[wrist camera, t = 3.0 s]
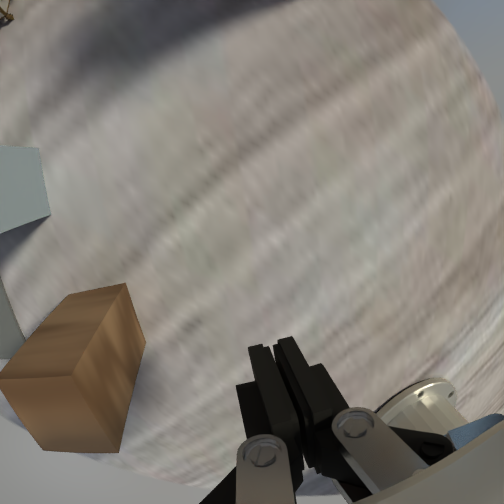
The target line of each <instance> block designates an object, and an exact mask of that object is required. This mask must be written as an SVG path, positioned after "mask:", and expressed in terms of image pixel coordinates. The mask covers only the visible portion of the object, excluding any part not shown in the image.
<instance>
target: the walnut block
mask: <svg viewBox="0 0 504 504" xmlns="http://www.w3.org/2000/svg"><path fill="white" fill-rule="evenodd" d="M145 344H146V341H145V338H144V336H143V333H142V330H141V327H140V324H139V322H138V319H137V316H136V313H135V310H134V307H133V304H132V301H131V298H130V295H129V292H128V288H127V285H126V283H123V284H118V285H113V286H108V287H103V288H98V289H94V290H89V291H84V292H79V293H74V294H69V295H68V296H67V297H66V298H65V299H64V300H63V301H62V302H61V303H60V304H59V305H58V306H57V307H56V308H55V309H54V310H53V311H52V313H51V314H50V315H49V316H48V317H47V318H46V319H45V320H44V321H43V322H42V324H41V325H40V326H39V327H38V328H37V329H36V330H35V331H34V332H33V334H32V335H31V336H30V337H29V338H28V339H27V341H26V342H25V343H24V344H23V345H22V346H21V348H20V349H19V350H18V351H17V352H16V353H15V355H14V356H13V357H12V358H11V359H10V361H9V362H8V363H7V364H6V366H5V367H4V368H3V369H2V371H1V372H0V389H1V391H2V393H3V394H4V396H5V397H6V399H7V401H8V402H9V404H10V405H11V407H12V408H13V410H14V411H15V413H16V414H17V416H18V417H19V419H20V420H21V422H22V423H23V424H24V426H25V427H26V429H27V430H28V431H29V433H30V434H31V435H32V437H33V438H34V439H35V441H36V442H37V443H38V445H39V446H40V447H41V448H42V449H43V450H45V451H57V452H74V453H119V449H120V444H121V440H122V435H123V431H124V426H125V422H126V418H127V413H128V409H129V405H130V401H131V397H132V393H133V389H134V385H135V381H136V377H137V374H138V370H139V366H140V362H141V359H142V355H143V352H144V348H145Z"/></svg>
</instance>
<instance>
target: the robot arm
mask: <svg viewBox="0 0 504 504" xmlns="http://www.w3.org/2000/svg"><path fill="white" fill-rule="evenodd" d="M273 350H274V356H275V360H274V358H273V355H272V353H271V350H270V348H269V346H267V347H263V345H262V344H259V345H255V346H250V347H248V351H249V356H250V360H251V365H252V369H253V374H254V378H255V381H253V382H248V383H244V384H239V385H236V390H237V395H238V400H239V404H240V409H241V414H242V418H243V423H244V428H245V432H246V437H247V440H246V441H244V442H243V443H242V444H241V445H240V447H239V448H238V451H237V463H236V467H235V468H234V469H233V470H232V471H231V472H230V473H229V474H228V475H227V476H226V477H225V478H224V479H223V480H222V481H221V482H220V483H219V484H218V485H217V486H216V487H215V488H214V489H213V490H212V491H211V492H210V494H208V495H207V496H206V497H205V498H204V499H203V500H202V501H201V502H200V503H199V504H297V502H296V495H295V492H296V491H297V489H298V488H299V486H300V485H301V484H302V482H303V474H302V470H304V461H303V455H304V458H305V460H306V463H307V465H308V467H309V468H312V467H314V468H315V470H316V473H317V474H319V473H321V474H322V475H323V476H326V477H330V478H331V479H332V481H333V483H334V485H335V486H336V488H337V489H338V490H339V492H340V493H341V495H342V496H343V497H344V499H345V500H346V502H347V503H348V504H504V415H502V414H497V413H494V414H490V415H488V416H485V417H483V418H481V419H478V420H476V421H473V422H471V423H469V422H468V421H467V420H466V419H465V418H464V417H463V416H462V415H461V414H460V413H459V412H458V411H457V410H456V409H455V404H456V400H457V392H456V389H455V387H454V386H453V385H452V384H451V383H450V382H449V381H447V380H446V379H443V378H432V379H428V380H424V381H422V382H420V383H417V384H415V385H413V386H411V387H409V388H408V389H406V390H404V391H403V392H401V393H400V394H398V395H397V396H395V397H394V398H393V399H392V400H390V401H389V402H388V403H387V404H386V405H384V406H383V407H382V408H381V409H380V410H379V411H378V412H377V413H376V414H375V413H374V412H373V411H371V410H369V409H366V408H361V407H354V408H350V407H349V406H348V404H347V403H346V401H345V399H344V398H343V396H342V395H341V393H340V391H339V390H338V388H337V387H336V385H335V383H334V382H333V380H332V379H331V377H330V375H329V374H328V372H327V370H326V369H325V367H324V366H323V365H322V364H321V363H320V364H317V365H313V366H310V367H309V365H308V363H307V362H306V360H305V358H304V356H303V354H302V353H301V351H300V349H299V347H298V345H297V344H296V342H295V340H294V338H293V337H292V336H291V337H287V338H283V339H279V340H278V344H275V345H273ZM275 361H276V363H275Z"/></svg>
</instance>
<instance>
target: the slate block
mask: <svg viewBox="0 0 504 504" xmlns="http://www.w3.org/2000/svg"><path fill="white" fill-rule="evenodd" d="M48 215H51V212H50V207H49V203H48V198H47V193H46V188H45V183H44V177H43V172H42V166H41V159H40V153H39V148H31V147H17V146H1V145H0V234H1V233H3V232H6V231H8V230H11V229H13V228H16V227H18V226H21V225H24V224H26V223H29V222H32V221H34V220H37V219H40V218H43V217H45V216H48Z"/></svg>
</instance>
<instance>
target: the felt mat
mask: <svg viewBox="0 0 504 504" xmlns="http://www.w3.org/2000/svg"><path fill="white" fill-rule="evenodd" d="M25 342H26V340H25V338H24V336H23V334H22V332H21V329H20V327H19V325H18V322H17V320H16V318H15V315H14V313H13V310H12V308H11V305H10V303H9V300H8V297H7V294H6V292H5V289H4V286H3V283H2V280H1V277H0V359H11V358H12V357H13V356H14V355H15V353H16V352H17V351H18V350H19V349H20V348H21V346H22V345H23V344H24V343H25Z"/></svg>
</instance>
